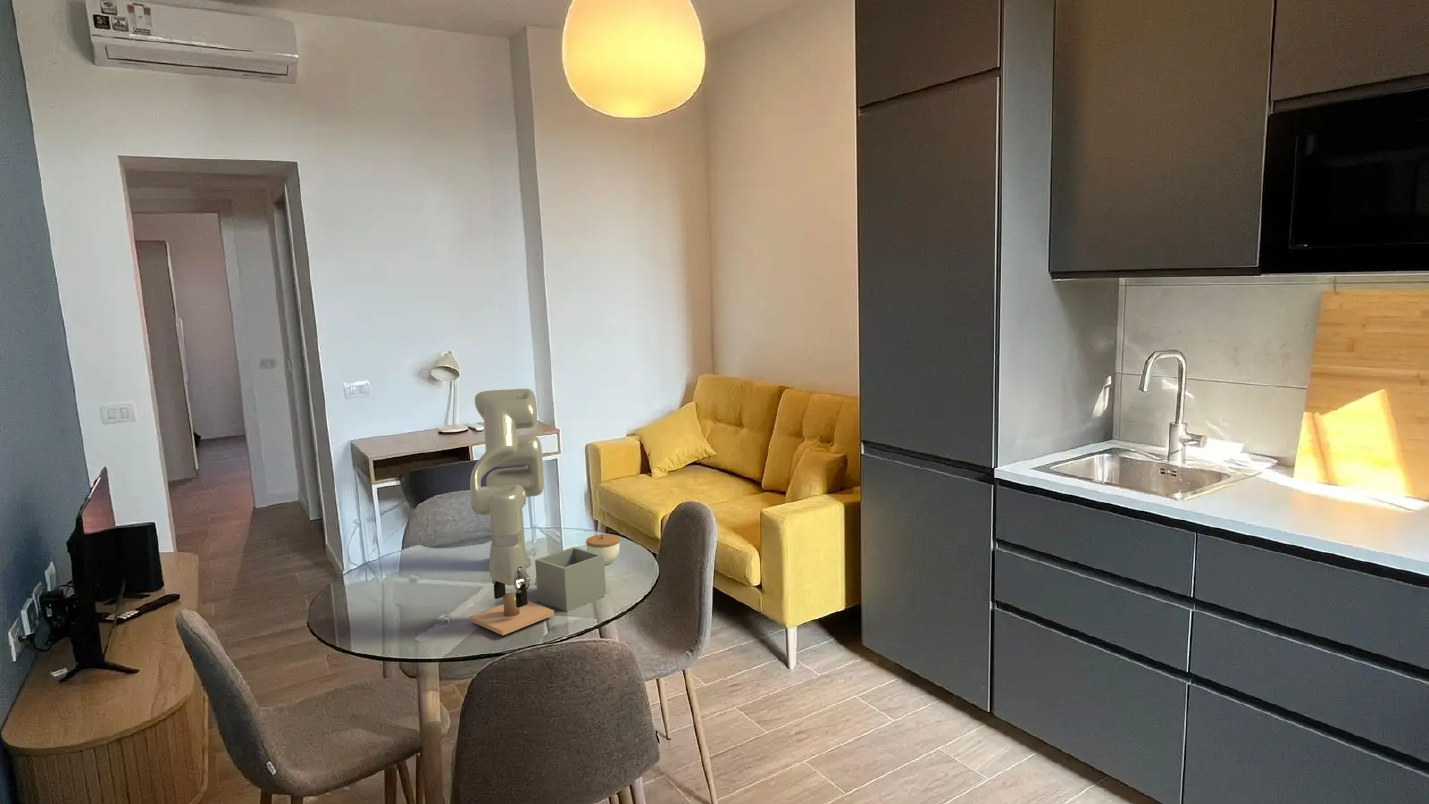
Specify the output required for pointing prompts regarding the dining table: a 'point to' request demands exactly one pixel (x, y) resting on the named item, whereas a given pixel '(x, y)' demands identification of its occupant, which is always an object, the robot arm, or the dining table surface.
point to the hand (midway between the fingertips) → (511, 601)
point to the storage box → (570, 578)
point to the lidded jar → (604, 546)
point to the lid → (511, 615)
